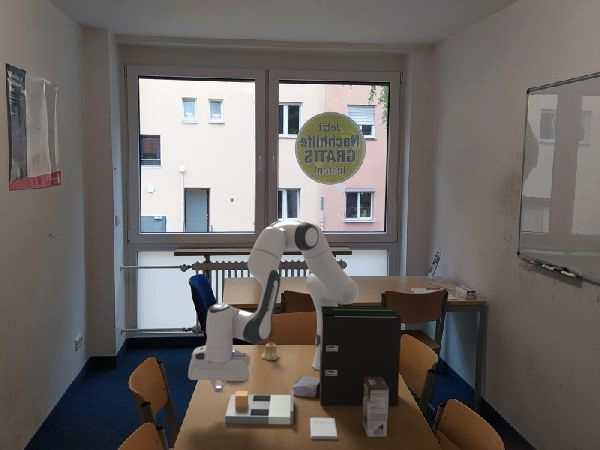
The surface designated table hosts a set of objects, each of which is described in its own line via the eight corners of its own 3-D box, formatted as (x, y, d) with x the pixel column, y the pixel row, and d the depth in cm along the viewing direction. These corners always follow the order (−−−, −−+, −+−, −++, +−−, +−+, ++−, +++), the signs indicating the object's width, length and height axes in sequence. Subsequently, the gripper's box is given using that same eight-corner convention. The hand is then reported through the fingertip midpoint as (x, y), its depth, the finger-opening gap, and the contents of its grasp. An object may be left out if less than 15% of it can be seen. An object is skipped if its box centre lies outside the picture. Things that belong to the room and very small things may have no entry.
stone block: (291, 400, 206) (317, 397, 204) (289, 387, 205) (315, 384, 203) (297, 388, 217) (322, 386, 215) (295, 376, 217) (320, 373, 215)
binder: (391, 390, 211) (395, 307, 207) (398, 408, 197) (402, 319, 193) (319, 389, 211) (321, 306, 208) (320, 406, 197) (322, 317, 193)
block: (248, 402, 193) (248, 391, 192) (247, 407, 189) (247, 396, 188) (236, 402, 193) (236, 391, 192) (235, 407, 189) (235, 395, 188)
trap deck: (293, 401, 200) (293, 389, 199) (293, 424, 183) (293, 411, 182) (231, 400, 200) (231, 388, 199) (225, 423, 183) (225, 410, 182)
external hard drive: (311, 440, 174) (310, 421, 186) (337, 441, 174) (334, 422, 186) (311, 435, 174) (310, 417, 186) (337, 436, 174) (334, 417, 186)
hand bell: (263, 353, 249) (263, 318, 247) (281, 354, 248) (282, 319, 246) (259, 359, 241) (259, 323, 239) (278, 361, 240) (278, 324, 238)
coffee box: (361, 423, 185) (363, 376, 183) (380, 423, 185) (382, 376, 183) (367, 437, 176) (368, 387, 174) (387, 436, 176) (389, 387, 174)
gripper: (251, 350, 192) (250, 389, 193) (190, 348, 192) (190, 387, 193) (249, 356, 186) (248, 396, 187) (187, 354, 185) (187, 395, 187)
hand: (218, 392), depth 190 cm, fingers closed
